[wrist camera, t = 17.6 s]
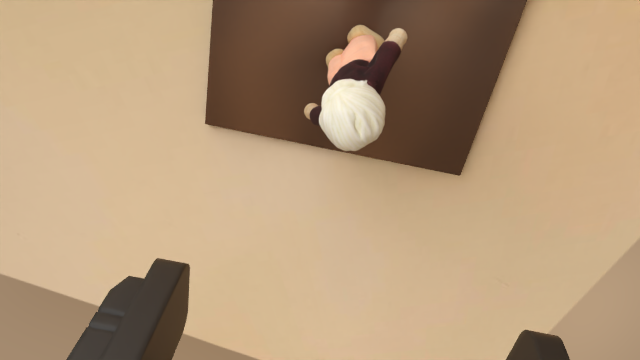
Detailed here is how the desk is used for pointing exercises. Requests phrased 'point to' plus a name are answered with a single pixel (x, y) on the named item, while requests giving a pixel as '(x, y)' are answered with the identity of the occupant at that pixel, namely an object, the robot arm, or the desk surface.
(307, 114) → the grandmother figurine
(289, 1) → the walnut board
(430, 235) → the desk surface
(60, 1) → the desk surface
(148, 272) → the robot arm
